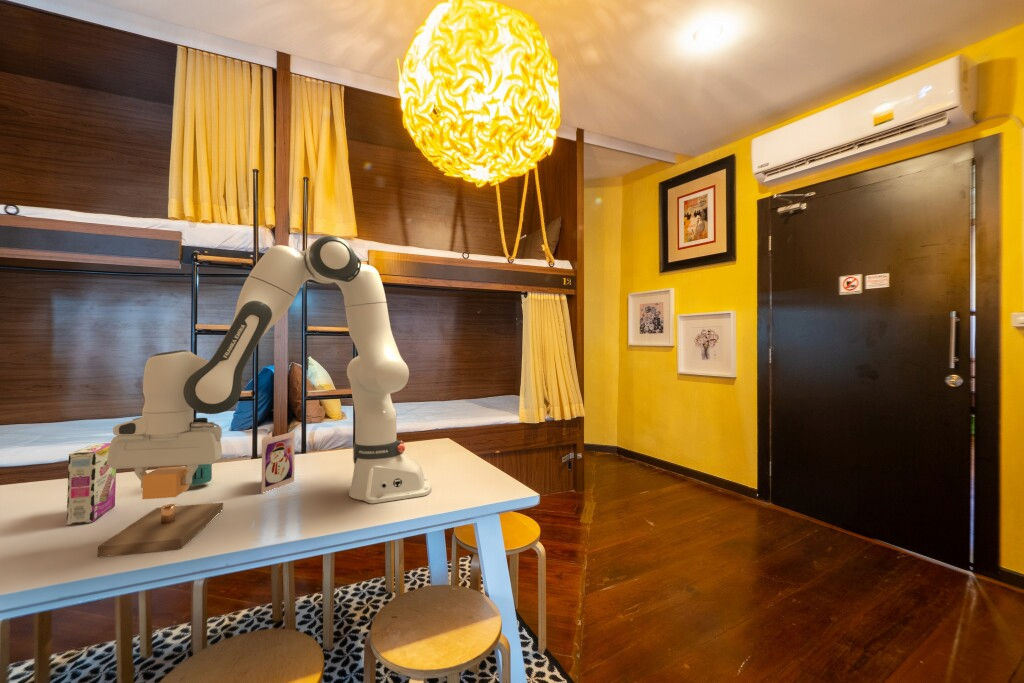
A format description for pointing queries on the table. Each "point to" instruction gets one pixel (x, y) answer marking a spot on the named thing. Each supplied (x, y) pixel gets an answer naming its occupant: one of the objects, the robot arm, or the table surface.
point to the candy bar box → (90, 484)
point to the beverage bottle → (203, 471)
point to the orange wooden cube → (164, 482)
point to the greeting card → (277, 460)
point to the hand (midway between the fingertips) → (166, 485)
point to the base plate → (160, 530)
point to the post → (168, 514)
